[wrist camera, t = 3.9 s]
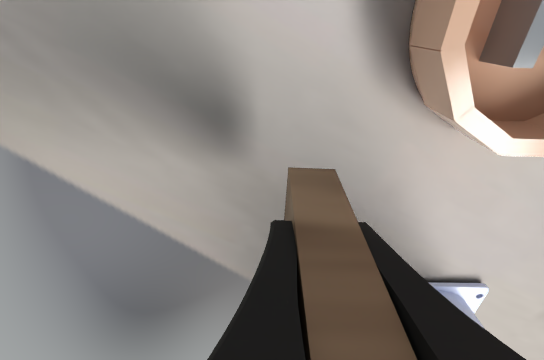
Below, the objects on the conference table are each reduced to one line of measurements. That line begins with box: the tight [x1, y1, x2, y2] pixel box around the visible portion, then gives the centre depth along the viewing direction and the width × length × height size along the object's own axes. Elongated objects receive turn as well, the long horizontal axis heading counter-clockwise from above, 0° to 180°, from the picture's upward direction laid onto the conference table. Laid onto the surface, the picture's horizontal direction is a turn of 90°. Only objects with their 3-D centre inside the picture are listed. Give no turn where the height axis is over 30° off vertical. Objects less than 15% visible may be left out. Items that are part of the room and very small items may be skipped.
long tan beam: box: [284, 168, 417, 360], centre depth 8 cm, size 3×2×7 cm, turn 177°
